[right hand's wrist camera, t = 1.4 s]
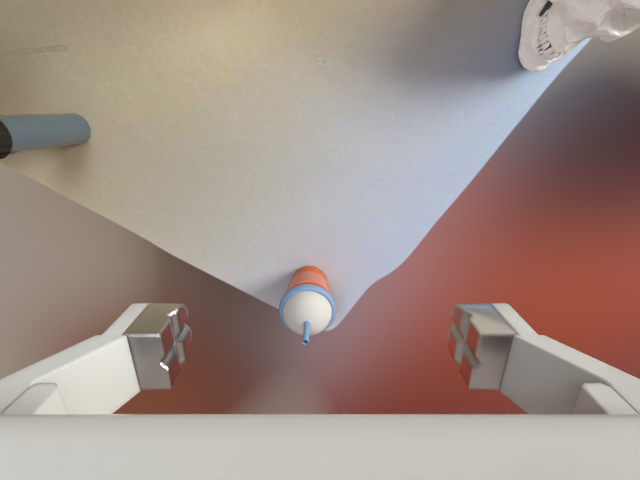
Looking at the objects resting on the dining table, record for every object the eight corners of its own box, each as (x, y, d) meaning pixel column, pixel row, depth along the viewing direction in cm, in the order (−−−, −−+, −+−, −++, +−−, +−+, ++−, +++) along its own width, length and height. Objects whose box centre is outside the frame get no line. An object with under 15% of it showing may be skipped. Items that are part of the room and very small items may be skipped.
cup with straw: (281, 296, 65) (267, 362, 48) (290, 254, 62) (278, 308, 45) (327, 305, 66) (330, 373, 49) (338, 263, 63) (345, 321, 46)
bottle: (87, 113, 53) (-11, 116, 37) (92, 144, 55) (1, 159, 39) (57, 112, 53) (-54, 114, 37) (63, 142, 55) (-39, 157, 39)
